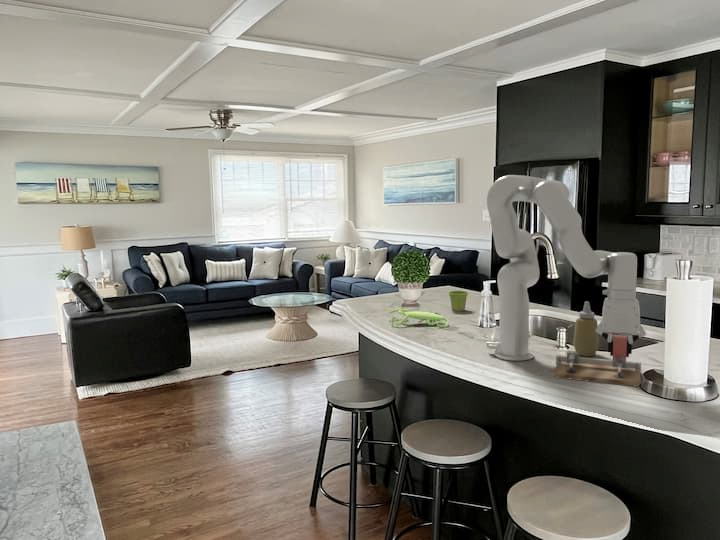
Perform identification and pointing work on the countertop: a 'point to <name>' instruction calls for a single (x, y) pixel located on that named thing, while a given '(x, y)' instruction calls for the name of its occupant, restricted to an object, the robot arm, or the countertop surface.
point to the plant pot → (458, 300)
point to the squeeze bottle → (586, 332)
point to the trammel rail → (591, 361)
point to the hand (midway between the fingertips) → (619, 354)
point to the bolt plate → (598, 373)
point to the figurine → (419, 317)
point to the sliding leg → (619, 352)
